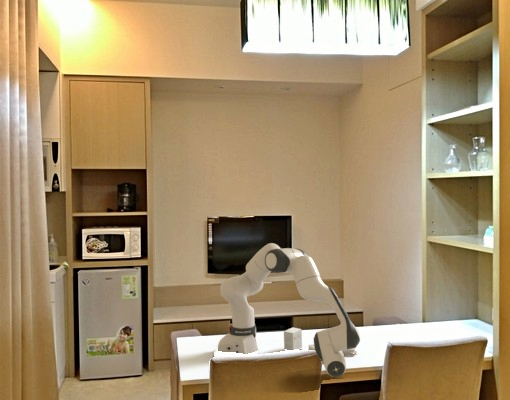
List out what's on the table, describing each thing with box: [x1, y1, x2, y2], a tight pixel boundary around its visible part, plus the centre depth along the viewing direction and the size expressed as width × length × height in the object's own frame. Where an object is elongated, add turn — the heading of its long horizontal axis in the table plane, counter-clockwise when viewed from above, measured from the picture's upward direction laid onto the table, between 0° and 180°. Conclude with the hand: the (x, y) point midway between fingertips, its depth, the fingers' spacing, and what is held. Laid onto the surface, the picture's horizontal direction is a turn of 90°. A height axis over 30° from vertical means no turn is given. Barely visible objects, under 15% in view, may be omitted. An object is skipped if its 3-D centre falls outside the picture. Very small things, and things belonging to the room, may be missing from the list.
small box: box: [283, 326, 303, 350], centre depth 230 cm, size 8×6×10 cm
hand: (330, 344), depth 209 cm, fingers open, 8 cm apart
